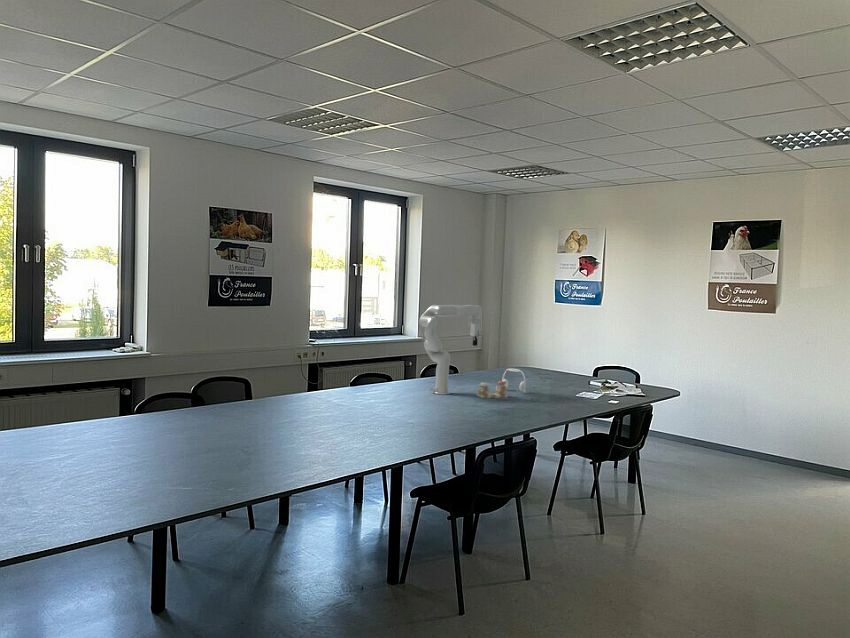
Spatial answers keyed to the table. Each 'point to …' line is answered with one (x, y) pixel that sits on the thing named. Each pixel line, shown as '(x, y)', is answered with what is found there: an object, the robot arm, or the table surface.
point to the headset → (522, 384)
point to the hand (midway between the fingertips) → (474, 345)
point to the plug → (483, 384)
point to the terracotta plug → (501, 383)
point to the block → (484, 393)
